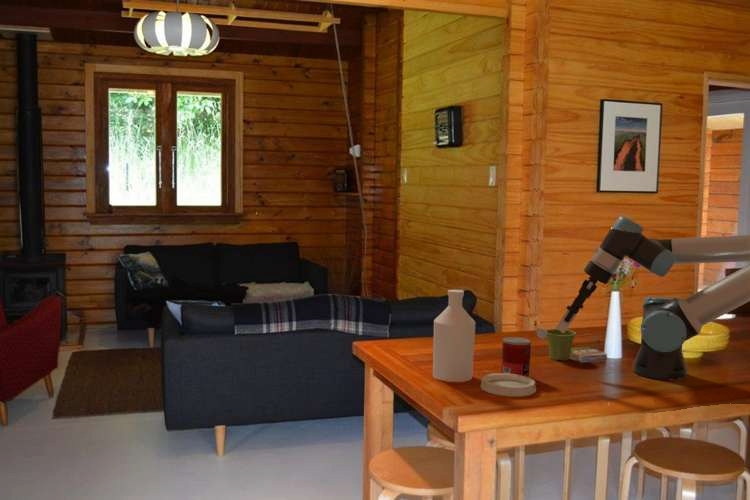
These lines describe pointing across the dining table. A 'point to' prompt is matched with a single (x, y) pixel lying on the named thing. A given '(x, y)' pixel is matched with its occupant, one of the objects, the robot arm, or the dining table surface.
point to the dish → (508, 385)
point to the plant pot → (560, 344)
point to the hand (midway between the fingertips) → (561, 327)
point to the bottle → (453, 342)
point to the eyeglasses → (542, 334)
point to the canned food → (516, 356)
